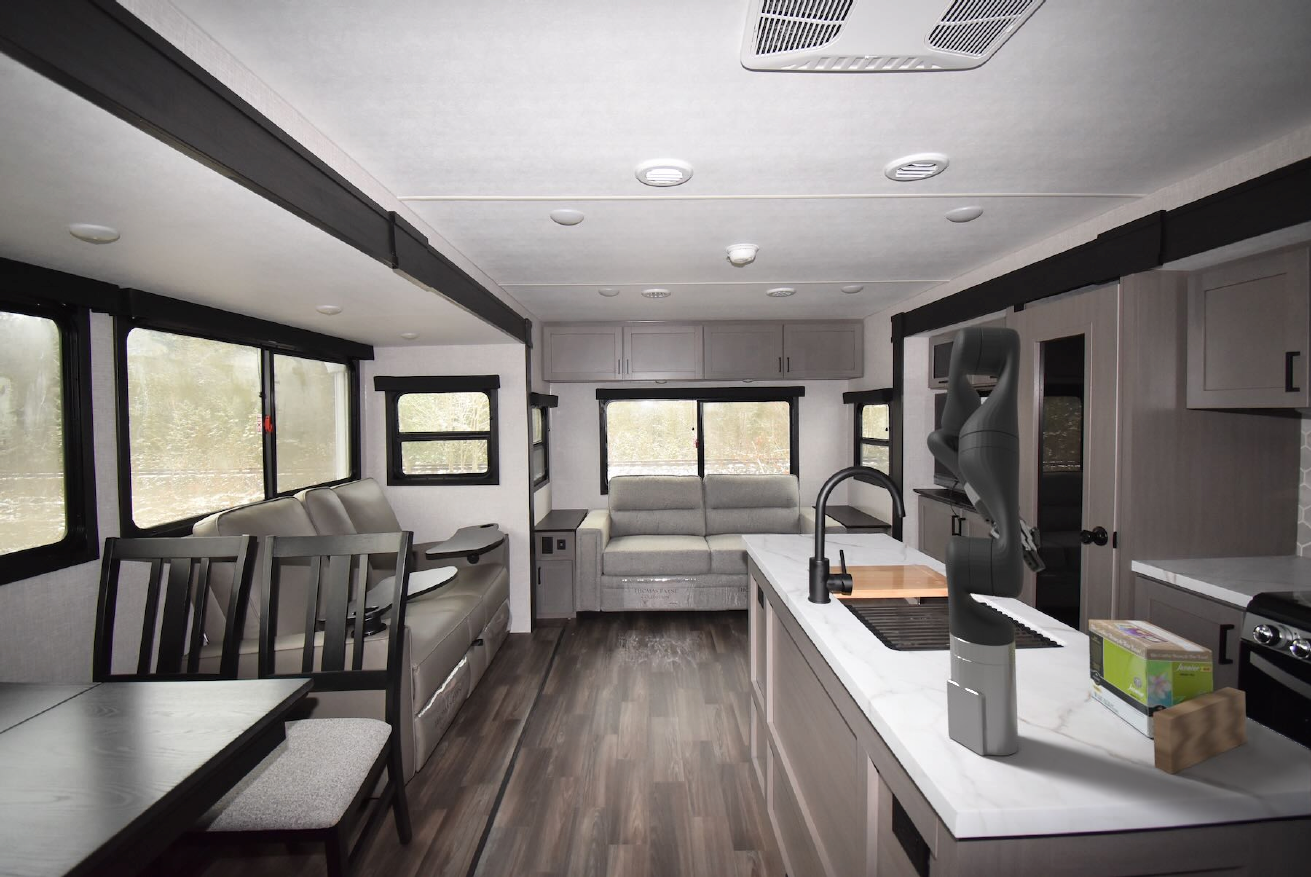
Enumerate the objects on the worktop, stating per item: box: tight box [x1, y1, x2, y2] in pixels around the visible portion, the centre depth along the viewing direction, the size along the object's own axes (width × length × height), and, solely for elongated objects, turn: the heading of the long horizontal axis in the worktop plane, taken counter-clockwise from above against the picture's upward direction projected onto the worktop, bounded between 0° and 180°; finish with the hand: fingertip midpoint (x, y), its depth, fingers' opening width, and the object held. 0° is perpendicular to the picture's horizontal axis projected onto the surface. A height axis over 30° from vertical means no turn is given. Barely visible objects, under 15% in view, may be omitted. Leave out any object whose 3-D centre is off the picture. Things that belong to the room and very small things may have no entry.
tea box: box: [1088, 619, 1214, 739], centre depth 94 cm, size 15×10×15 cm
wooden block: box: [1153, 686, 1248, 775], centre depth 83 cm, size 20×2×8 cm, turn 111°
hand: (1039, 569), depth 109 cm, fingers closed
